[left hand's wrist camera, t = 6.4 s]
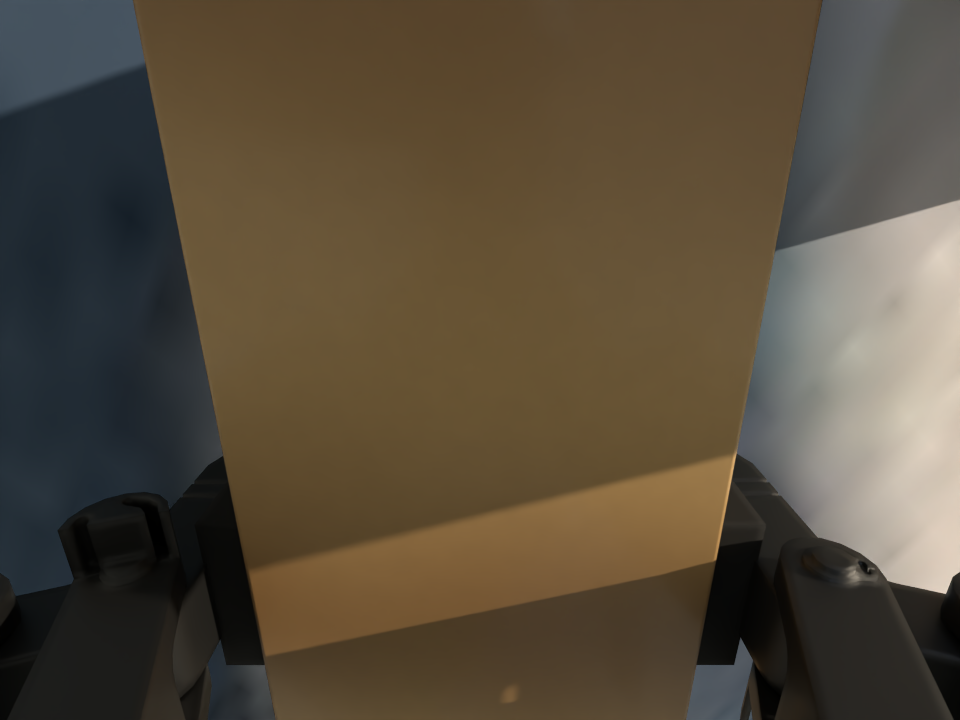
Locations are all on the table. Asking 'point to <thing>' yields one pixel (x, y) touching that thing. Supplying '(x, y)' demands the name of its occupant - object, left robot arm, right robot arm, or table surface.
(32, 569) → the table surface
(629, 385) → the post
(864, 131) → the table surface
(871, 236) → the table surface
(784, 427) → the table surface
